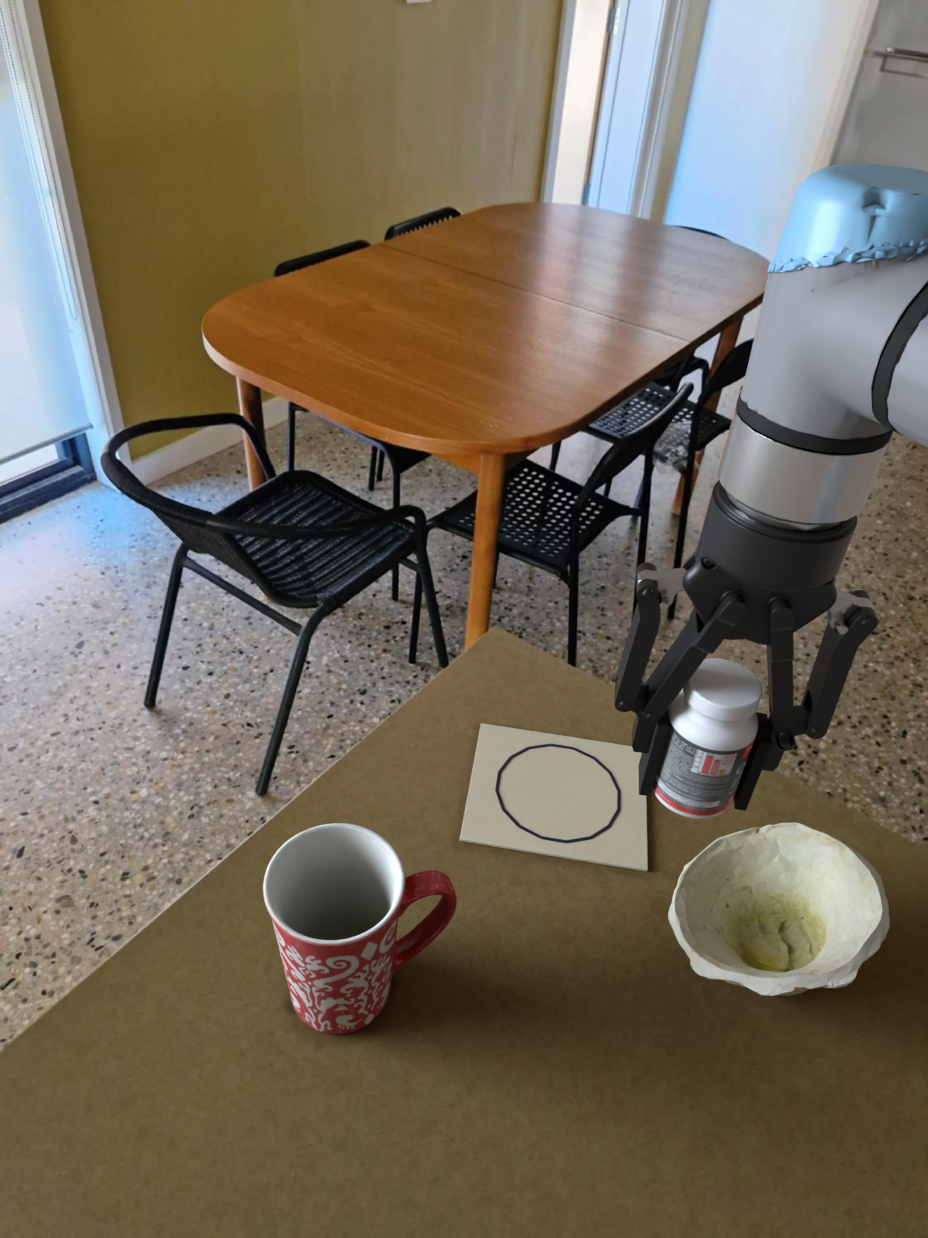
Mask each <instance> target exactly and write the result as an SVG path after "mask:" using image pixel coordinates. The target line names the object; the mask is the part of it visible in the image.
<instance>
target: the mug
mask: <svg viewBox="0 0 928 1238" xmlns="http://www.w3.org/2000/svg"><path fill="white" fill-rule="evenodd" d="M262 895H263V900H264V905H265V908H266V910H267V912H268V914H269V916H270V918H271V920H272V926H273V930H274V934H275V938H276V941H277V946H278V949H279V954H280V958H281V962H282V966H283V972H284V975H285V978H286V982H287V987H288V992H289V996H290V1000H291V1003H292V1006H293V1009H294V1011H295V1012H296V1014H297V1016H298V1017H299V1018H300V1020H301V1021H303V1022H304V1023H305V1024H306V1025H307V1026H308V1027H310V1028H311V1029H314V1030H316V1031H318V1032H320V1033H323V1034H329V1035H344V1034H346V1035H347V1034H349V1033H354V1032H356V1031H359V1030H361V1029H363V1028H364V1027H366V1026H367V1025H369V1024H370V1023H371V1022H372V1021H374V1020H375V1019H376V1018H377V1017H378V1015H380V1014H381V1012H382V1011H383V1009H384V1007H385V1005H386V1003H387V1002H388V999H389V996H390V993H391V987H392V979H393V978H392V977H393V975H394V974H395V973H396V972H397V971H398V970H400V969H401V968H402V967H403V966H405V965H406V964H408V963H409V962H410V961H412V960H413V959H414V958H416V957H417V956H418V955H419V954H421V952H423V951H424V950H425V949H426V948H427V947H429V945H430V944H431V943H432V942H434V941H435V940H436V939H437V937H438V936H440V935H441V934H442V932H444V930H445V929H446V928H447V927H448V925H449V924H450V922H451V921H452V919H453V917H454V915H455V913H456V909H457V903H458V902H457V901H458V900H457V893H456V889H455V887H454V884H453V882H452V880H451V878H450V877H449V876H448V874H446V873H445V872H442V871H440V870H431V869H430V870H428V869H427V870H423V871H418V872H415V873H412V874H410V875H408V876H406V871H405V869H404V865H403V862H402V860H401V857H400V855H399V854H398V852H397V851H396V850H395V848H394V847H393V845H391V843H390V842H389V841H388V840H387V839H385V837H383V836H382V835H380V834H379V833H378V832H376V831H373V830H372V829H370V828H368V827H364V826H362V825H357V824H354V823H345V822H333V823H325V824H320V825H316V826H312V827H310V828H307V829H305V830H303V831H300V832H299V833H296V834H295V835H294V836H291V837H290V838H289V839H288V840H286V841H285V842H284V843H283V844H282V845H281V846H280V847H279V848H278V849H277V850H276V852H275V853H274V855H272V857H271V859H270V861H269V863H268V864H267V867H266V870H265V873H264V877H263V882H262ZM430 896H441V897H440V899H439V901H438V902H437V903H436V905H435V906H434V907H433V908H432V909H431V911H430V912H429V913H428V914H427V915H425V916H424V918H423V919H422V920H421V921H420V922H419V923H418V924H416V926H414V927H413V928H412V929H411V930H410V931H409V932H408V933H407V934H405V935H403V936H402V937H401V938H399V939H398V940H397V934H398V933H397V932H398V923H399V918H400V917H402V916H403V915H404V913H405V912H406V910H407V909H408V908H409V907H410V906H411V905H412V904H414V903H415V902H418V901H420V900H421V899H423V898H426V897H430Z"/></svg>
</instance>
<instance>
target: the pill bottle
mask: <svg viewBox="0 0 928 1238" xmlns="http://www.w3.org/2000/svg"><path fill="white" fill-rule="evenodd" d="M762 686H763V685H762V683H761V681H760V680H759V678H758V677H757V676H756V675H755V673H753V672H752V671H751V670H750V669H749V668H747V667H745V665H743V664H741V663H738V662H735V661H733V660H730V659H725V658H718V657H715V658H714V657H713V658H705V659H704V661H703V662H702V663H701V665H700V666H699V667H698V669H697V670H696V671H695V673H694V674H693V675H692V677H691V678H690V679H689V681H688V682H687V683H686V685H685V686H684V687H683V689H682V690H681V692H680V693H679V694H678V696H677V697H676V698H675V700H674V701H673V702H672V704H671V705H670V706H669V708H668V714H669V732H668V736H667V739H666V743H665V746H664V750H663V753H662V757H661V760H660V763H659V767H658V770H657V774H656V777H655V781H654V784H653V788H652V792H653V794H654V796H655V797H656V798H657V800H658V801H659V802H660V803H661V804H662V805H663V806H664V807H665V808H667V809H668V810H670V811H671V812H673V813H675V814H678V815H679V816H682V817H685V818H689V819H696V820H697V819H698V820H705V819H711V818H715V817H717V816H720V815H722V814H723V813H725V811H727V810H728V808H729V807H730V806H731V804H732V802H733V801H734V800H733V798H734V796H735V793H736V790H737V787H738V784H739V781H740V778H741V776H742V773H743V770H744V767H745V765H746V762H747V759H748V756H749V754H750V751H751V748H752V745H753V743H754V740H755V737H756V734H757V730H758V719H757V715H756V712H757V710H758V709H759V705H760V702H761V699H762V695H763V687H762Z"/></svg>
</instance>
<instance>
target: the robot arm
mask: <svg viewBox="0 0 928 1238" xmlns="http://www.w3.org/2000/svg"><path fill="white" fill-rule="evenodd" d="M766 273H767V274H768V275H767V278H766V279H767V280H766V284H765V288H764V293H763V296H762V297H763V298H762V302H761V306H760V311H759V315H758V319H757V324H756V328H755V333H754V336H753V341H752V345H751V350H750V355H749V359H748V364H747V367H746V372H745V375H744V380H743V384H742V385H741V386H740V389H739V393H738V396H737V400H736V404H735V408H734V412H733V415H732V419H731V423H730V425H729V430H728V433H727V437H726V441H725V444H724V448H723V451H722V454H721V458H720V461H719V465H718V468H717V477H718V480H717V481H716V482H715V483H714V484H713V487H712V490H711V491H712V492H711V495H710V498H709V501H708V504H707V505H708V506H707V509H706V513H705V517H704V520H703V524H702V527H701V528H702V529H701V532H700V535H699V539H698V543H697V546H696V549H695V550H694V551H693V553H692V554H691V555H690V556H689V557H688V558H687V559H686V560H685V561H684V563H683V565H682V566H681V567H677V568H675V567H674V568H668V569H667V568H666V569H659V570H658V568H657V566H656V564H654V563H652V562H646V561H645V562H641V563H640V564H639V565H638V566H637V568H636V571H635V573H636V574H635V575H636V577H635V579H636V581H635V582H636V583H635V584H636V586H635V587H636V601H637V603H636V606H635V610H634V613H633V616H632V619H631V623H630V627H629V629H628V633H627V636H626V640H625V643H624V647H623V650H622V653H621V657H620V660H619V663H618V667H617V669H616V672H615V673H616V674H615V677H614V708H615V710H616V711H618V712H620V713H628V712H633V713H634V714H635V715H634V716H635V717H634V720H633V725H632V729H631V746H632V748H633V751H634V752H639V753H642V754H641V758H640V762H639V795H644V796H646V797H651V795H652V792H653V790H652V788H653V784H654V781H655V777H656V774H657V770H658V767H659V763H660V760H661V757H662V753H663V750H664V746H665V743H666V739H667V736H668V732H669V714H668V708H669V706H670V705H671V704H672V702H673V701H674V700H675V698H676V697H677V696H678V694H679V693H680V692H681V690H682V689H683V687H684V686H685V685H686V683H687V682H688V681H689V679H690V678H691V677H692V675H693V674H694V673H695V671H696V670H697V669H698V667H699V666H700V665H701V663H702V662H703V661H704V659H707V657H708V656H709V654H710V655H712V654H714V653H715V652H716V651H717V649H718V648H719V646H721V644H722V643H723V641H724V640H728V641H736V640H746V641H749V642H751V643H755V644H757V645H765V646H766V667H767V668H766V669H767V670H766V671H767V691H768V710H769V716H768V713H765V712H757V711H756V715H757V719H758V730H757V734H756V737H755V740H754V743H753V745H752V748H751V751H750V754H749V756H748V759H747V762H746V765H745V767H744V770H743V773H742V776H741V778H740V781H739V784H738V787H737V790H736V793H735V796H734V798H733V800H732V801H733V809H734V810H738V811H743V812H746V811H747V809H748V807H749V804H750V801H751V799H752V797H753V793H754V791H755V789H756V786H757V784H758V781H759V779H760V776H761V774H762V771H766V772H774V771H776V769H778V768H779V766H780V763H781V760H782V758H783V755H784V753H785V752H788V751H791V750H794V748H795V747H796V745H797V742H796V736H803V735H805V736H806V737H808V738H809V739H813V740H819V739H823V738H824V737H825V736H826V735H827V733H828V730H829V727H830V725H831V722H832V719H833V716H834V714H835V711H836V709H837V706H838V703H839V700H840V698H841V695H842V692H843V689H844V686H845V684H846V681H847V678H848V675H849V673H850V671H851V667H852V665H853V662H854V660H855V657H856V654H857V652H858V648H860V646H861V645H862V644H863V643H864V642H865V640H866V639H867V638H868V637H869V636H870V635H871V634H872V633H873V632H874V631H875V629H876V628H877V627H878V626H879V619H878V616H877V613H876V610H875V608H874V605H873V601H872V600H871V599H872V598H871V597H870V594H869V592H867V591H866V590H864V589H855V590H853V591H851V592H850V593H849V592H847V591H845V590H843V589H840V588H837V586H836V581H835V580H836V577H837V575H838V573H839V571H840V569H841V567H842V564H843V561H844V559H845V557H846V553H847V551H848V549H849V546H850V543H851V541H852V538H853V536H854V534H855V531H856V528H857V525H858V515H859V514H861V512H862V511H863V509H864V508H865V507H866V503H867V502H868V499H869V496H870V494H871V491H872V488H873V485H874V482H875V480H876V477H877V475H878V473H879V470H880V466H881V464H882V461H883V459H884V456H885V454H886V451H887V448H888V446H889V442H890V440H891V438H892V435H893V433H896V434H898V435H901V436H905V437H906V438H908V439H910V440H912V441H914V442H916V443H918V444H920V445H922V446H924V447H925V448H928V171H927V170H923V169H917V168H910V167H905V166H896V165H887V164H878V163H860V162H859V163H858V162H857V163H842V164H833V165H828V166H825V167H822V168H819V169H817V170H816V171H814V172H812V173H811V174H810V175H808V176H807V177H806V178H805V179H804V180H803V181H802V182H801V183H800V185H798V188H797V190H796V192H795V194H794V196H793V199H792V203H791V206H790V209H789V212H788V215H787V218H786V221H785V224H784V227H783V229H782V233H781V236H780V239H779V241H778V244H777V248H776V251H775V254H774V257H773V260H772V261H771V262H770V263H769V264H768V268H767V271H766ZM680 592H685V593H686V595H687V597H688V599H689V601H690V602H691V604H692V605H693V608H692V610H691V611H690V614H689V618H688V620H687V622H686V624H685V626H683V628H682V629H681V631H680V632H679V634H678V635H677V637H676V638H675V639H674V641H673V642H672V644H671V646H670V647H669V648H668V650H667V651H666V653H665V654H664V655H663V657H662V658H661V659H660V661H659V663H658V664H657V665H656V667H655V668H654V669H653V671H652V673H651V674H650V675H649V677H648V678H647V680H646V681H645V682H644V680H643V678H644V676H645V673H646V670H647V666H648V663H649V660H650V657H651V655H652V651H653V648H654V646H655V645H654V644H655V642H656V639H657V635H658V632H659V629H660V625H661V616H662V615H661V614H662V613H661V611H662V612H665V611H667V610H669V608H670V606H671V605H673V603H674V601H675V597H676V595H678V594H679V593H680ZM825 613H826V617H827V621H828V622H827V624H826V627H825V630H824V632H823V636H822V638H821V641H820V645H819V647H818V650H817V654H816V657H815V660H814V662H813V666H812V668H811V671H810V675H809V677H808V681H807V684H806V686H805V690H804V693H803V696H802V699H801V702H800V705H795V703H794V699H795V698H794V660H795V647H794V646H795V645H794V644H795V642H794V633H796V632H797V631H799V630H801V629H802V628H803V627H805V626H806V625H808V624H809V623H811V622H813V621H814V620H816V619H817V618H818V617H820V616H822V615H823V614H825Z"/></svg>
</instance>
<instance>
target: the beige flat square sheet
mask: <svg viewBox="0 0 928 1238" xmlns="http://www.w3.org/2000/svg"><path fill="white" fill-rule="evenodd" d="M641 754H642V753H639V752H634V751H633V748H632V745H626V744H620V743H614V742H613V743H612V742H608V741H601V740H594V739H587V738H580V737H575V736H568V735H561V734H555V733H548V732H542V731H535V730H529V729H522V728H516V727H509V726H504V725H503V726H502V725H498V724H497V725H496V724H490V723H483V722H481V723H480V727H479V733H478V737H477V743H476V748H475V754H474V758H473V765H472V770H471V775H470V781H469V787H468V792H467V797H466V801H465V802H466V803H465V808H464V813H463V819H462V823H461V830H460V835H459V842H461V843H463V842H464V843H470V844H474V845H480V846H481V845H482V846H486V847H494V848H499V849H504V850H505V849H507V850H511V851H517V852H524V853H529V854H536V855H543V856H549V857H555V858H562V859H567V860H572V861H578V862H584V863H590V864H591V863H592V864H598V865H604V866H610V867H616V868H621V869H622V868H623V869H627V870H634V871H639V872H646V873H647V872H648V869H649V867H648V866H649V864H648V863H649V861H648V858H649V857H648V805H647V802H648V801H647V796H644V795H639V762H640V758H641Z"/></svg>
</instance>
